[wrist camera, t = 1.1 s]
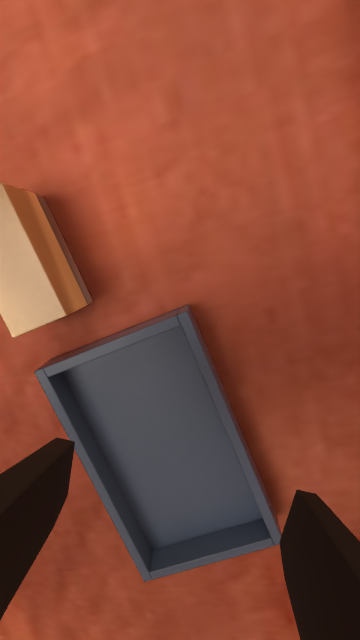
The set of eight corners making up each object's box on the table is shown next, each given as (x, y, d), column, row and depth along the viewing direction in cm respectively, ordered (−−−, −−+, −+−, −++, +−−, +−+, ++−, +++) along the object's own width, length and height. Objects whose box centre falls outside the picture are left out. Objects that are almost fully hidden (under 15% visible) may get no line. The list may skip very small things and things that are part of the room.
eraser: (49, 320, 20) (12, 338, 16) (-3, 217, 19) (-56, 210, 15) (93, 301, 20) (67, 315, 16) (43, 195, 18) (1, 181, 14)
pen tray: (149, 552, 23) (144, 582, 21) (50, 359, 21) (33, 371, 18) (276, 515, 22) (284, 543, 20) (188, 303, 19) (187, 311, 17)
